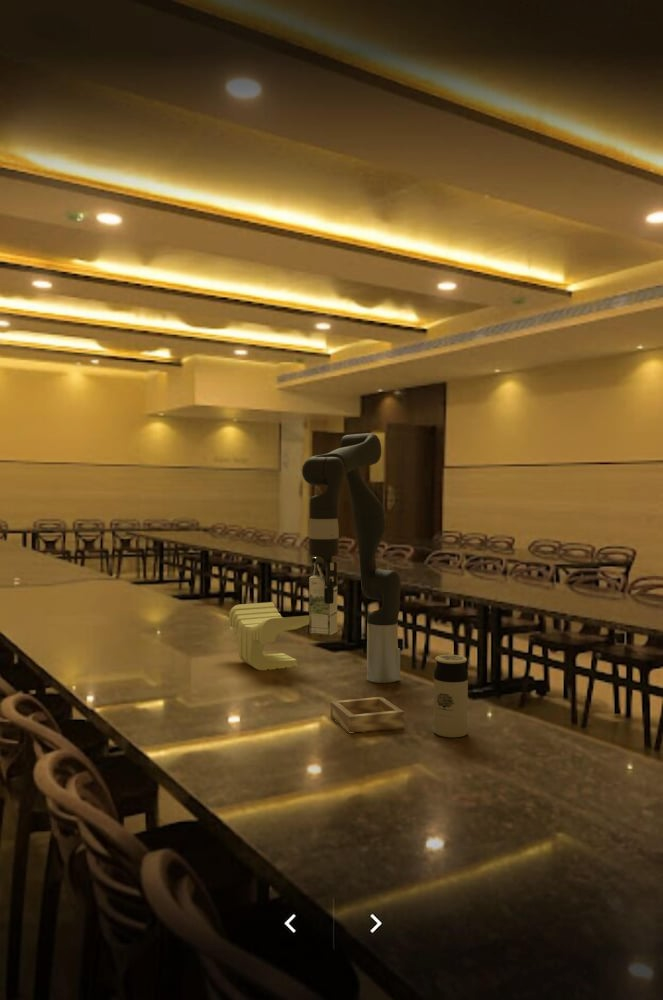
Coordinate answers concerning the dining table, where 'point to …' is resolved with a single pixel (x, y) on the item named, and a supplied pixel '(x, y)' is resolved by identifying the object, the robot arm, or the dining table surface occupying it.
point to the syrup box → (321, 609)
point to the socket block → (367, 714)
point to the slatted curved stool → (262, 633)
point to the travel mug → (450, 696)
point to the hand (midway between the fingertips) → (323, 600)
